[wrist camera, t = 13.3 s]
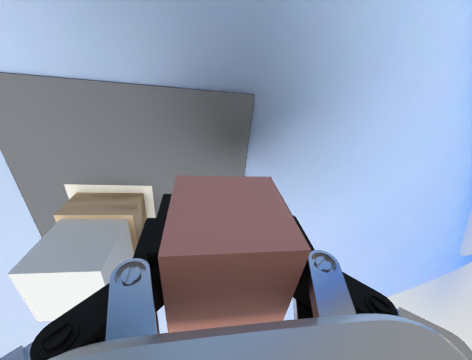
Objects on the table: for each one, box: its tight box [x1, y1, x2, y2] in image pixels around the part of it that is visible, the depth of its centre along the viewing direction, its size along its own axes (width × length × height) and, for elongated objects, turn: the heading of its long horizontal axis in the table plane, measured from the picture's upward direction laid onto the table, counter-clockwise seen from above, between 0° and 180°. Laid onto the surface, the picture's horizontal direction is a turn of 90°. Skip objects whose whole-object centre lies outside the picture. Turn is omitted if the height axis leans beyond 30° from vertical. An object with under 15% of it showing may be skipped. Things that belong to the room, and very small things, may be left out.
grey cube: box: [7, 219, 134, 322], centre depth 19 cm, size 6×6×6 cm
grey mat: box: [0, 73, 254, 237], centre depth 24 cm, size 22×24×1 cm
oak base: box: [53, 192, 147, 253], centre depth 23 cm, size 7×7×4 cm
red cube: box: [158, 175, 311, 333], centre depth 10 cm, size 5×5×5 cm
